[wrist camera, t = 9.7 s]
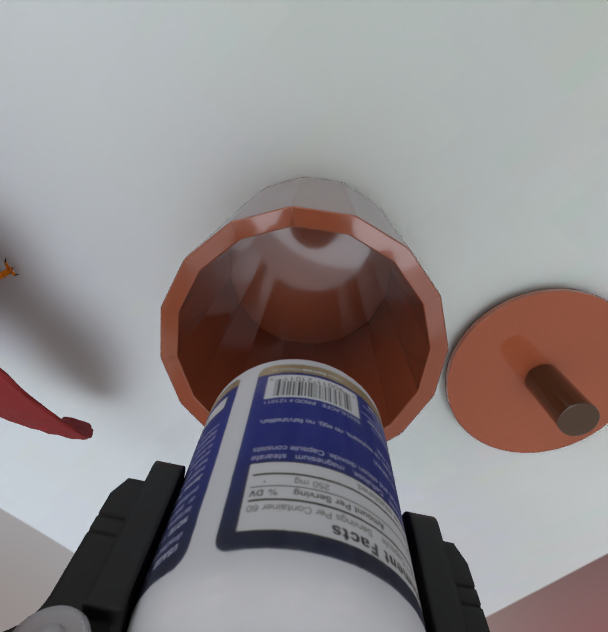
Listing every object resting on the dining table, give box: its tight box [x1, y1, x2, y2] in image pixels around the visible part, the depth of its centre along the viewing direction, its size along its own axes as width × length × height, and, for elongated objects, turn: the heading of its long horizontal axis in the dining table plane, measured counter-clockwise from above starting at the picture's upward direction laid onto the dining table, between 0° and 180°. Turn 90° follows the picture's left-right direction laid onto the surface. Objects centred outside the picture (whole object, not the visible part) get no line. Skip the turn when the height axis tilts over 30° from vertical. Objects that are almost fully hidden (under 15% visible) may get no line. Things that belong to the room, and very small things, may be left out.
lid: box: [445, 289, 608, 453], centre depth 30 cm, size 14×14×6 cm
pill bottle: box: [127, 359, 426, 632], centre depth 10 cm, size 6×6×10 cm
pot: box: [161, 177, 448, 442], centre depth 25 cm, size 13×13×12 cm
